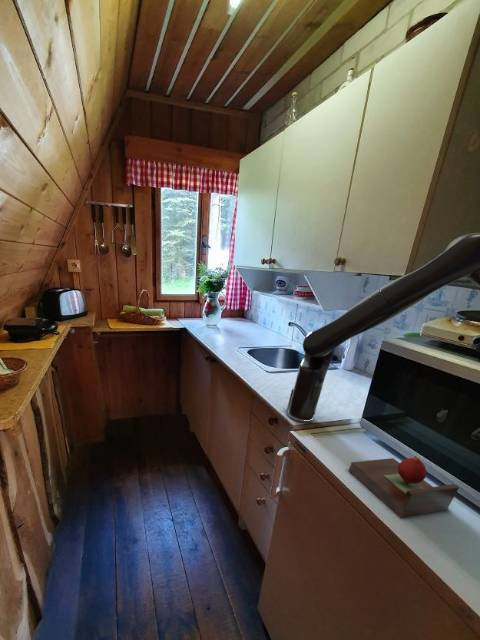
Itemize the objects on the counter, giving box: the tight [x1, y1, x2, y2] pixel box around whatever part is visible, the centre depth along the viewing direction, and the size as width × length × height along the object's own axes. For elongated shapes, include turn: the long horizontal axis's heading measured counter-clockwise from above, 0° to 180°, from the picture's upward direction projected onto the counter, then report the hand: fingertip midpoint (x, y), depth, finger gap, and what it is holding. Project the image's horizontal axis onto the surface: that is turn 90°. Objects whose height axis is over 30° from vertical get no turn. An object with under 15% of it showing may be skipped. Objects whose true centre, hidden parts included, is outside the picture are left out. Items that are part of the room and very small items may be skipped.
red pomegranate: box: [398, 455, 428, 484], centre depth 77 cm, size 6×6×8 cm
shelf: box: [348, 457, 460, 518], centre depth 79 cm, size 17×15×7 cm
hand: (454, 428), depth 77 cm, fingers open, 8 cm apart
